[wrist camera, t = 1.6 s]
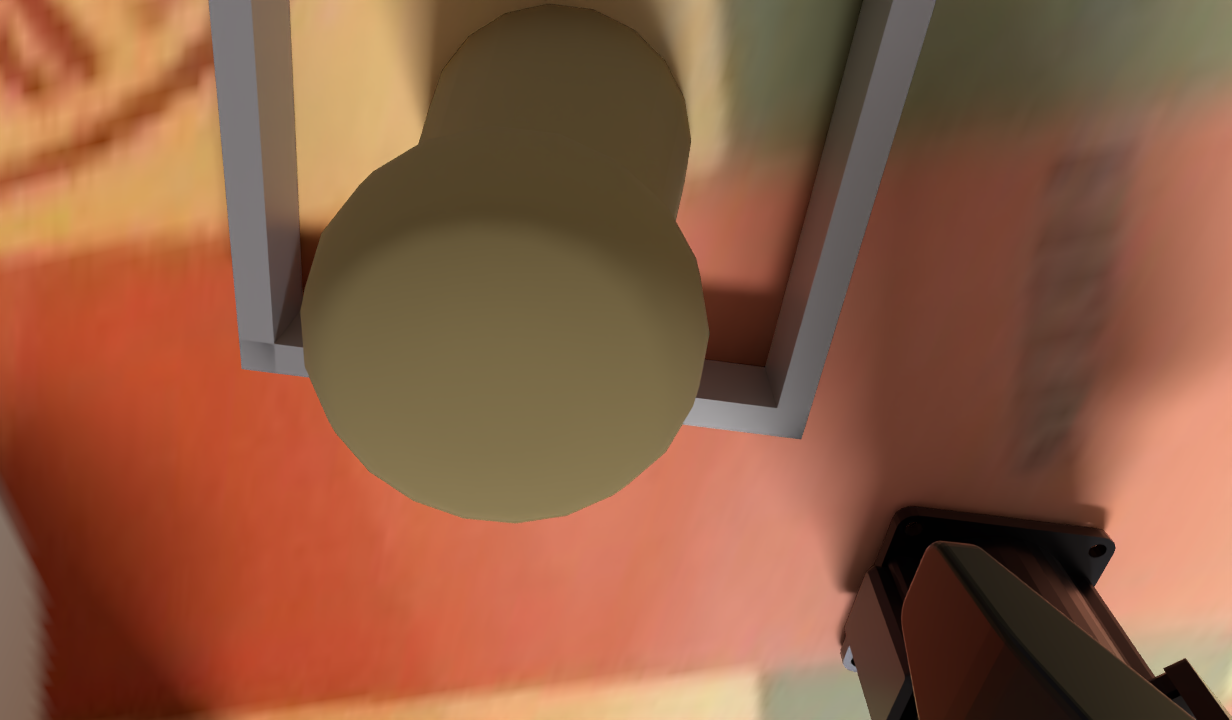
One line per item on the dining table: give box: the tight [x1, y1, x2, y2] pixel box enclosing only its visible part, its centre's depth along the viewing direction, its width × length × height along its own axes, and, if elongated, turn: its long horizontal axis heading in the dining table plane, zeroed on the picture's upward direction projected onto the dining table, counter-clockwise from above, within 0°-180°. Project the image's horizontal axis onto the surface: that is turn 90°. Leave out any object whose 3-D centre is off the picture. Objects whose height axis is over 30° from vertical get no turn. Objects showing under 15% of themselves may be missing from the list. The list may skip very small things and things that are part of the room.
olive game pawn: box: [300, 4, 710, 523], centre depth 14 cm, size 6×6×11 cm
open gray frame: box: [209, 0, 936, 439], centre depth 18 cm, size 14×12×2 cm
